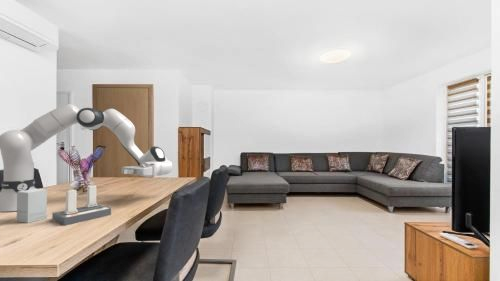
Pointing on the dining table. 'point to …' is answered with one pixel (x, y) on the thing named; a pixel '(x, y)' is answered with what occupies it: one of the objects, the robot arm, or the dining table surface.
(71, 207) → the switch knob
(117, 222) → the dining table surface
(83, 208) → the switch panel
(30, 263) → the dining table surface
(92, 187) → the switch knob
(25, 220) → the supplement box
